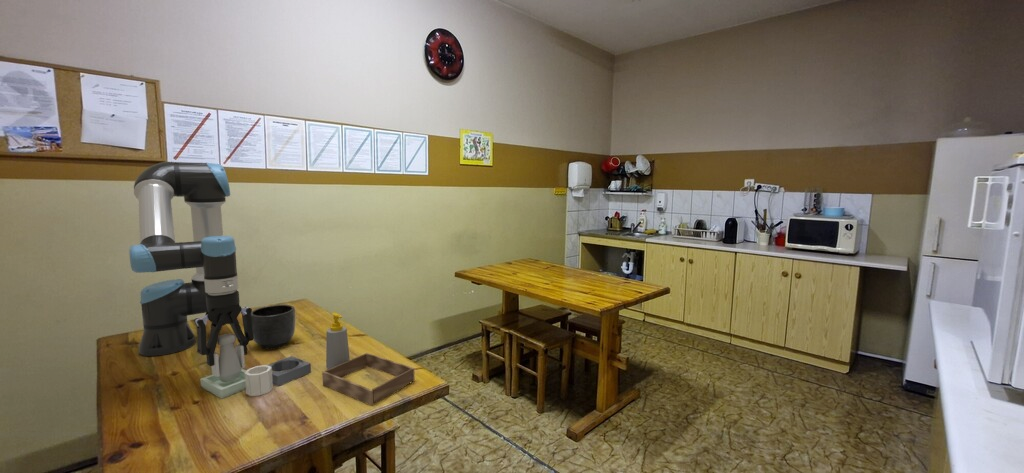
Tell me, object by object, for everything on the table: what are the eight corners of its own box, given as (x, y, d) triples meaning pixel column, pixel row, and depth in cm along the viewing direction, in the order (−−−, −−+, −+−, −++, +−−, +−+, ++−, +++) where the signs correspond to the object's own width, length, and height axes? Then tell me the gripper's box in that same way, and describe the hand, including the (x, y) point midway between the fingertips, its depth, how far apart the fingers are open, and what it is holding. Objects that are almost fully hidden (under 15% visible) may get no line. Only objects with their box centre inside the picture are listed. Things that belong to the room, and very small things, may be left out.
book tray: (322, 385, 116) (322, 371, 115) (367, 364, 129) (367, 352, 128) (371, 405, 105) (371, 391, 105) (414, 381, 118) (414, 368, 118)
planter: (300, 336, 153) (298, 303, 151) (292, 350, 140) (290, 314, 138) (258, 340, 148) (255, 306, 147) (246, 355, 135) (243, 318, 134)
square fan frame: (259, 377, 120) (258, 367, 119) (292, 364, 128) (291, 355, 128) (278, 386, 115) (277, 375, 114) (311, 372, 123) (310, 362, 123)
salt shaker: (229, 384, 111) (225, 339, 110) (212, 382, 112) (208, 337, 111) (246, 375, 117) (243, 332, 115) (230, 373, 118) (226, 330, 116)
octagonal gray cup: (242, 392, 111) (241, 371, 111) (265, 383, 116) (263, 363, 116) (254, 398, 108) (252, 377, 107) (276, 388, 113) (275, 368, 113)
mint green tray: (201, 387, 114) (200, 378, 114) (237, 373, 122) (237, 366, 122) (221, 398, 108) (220, 390, 107) (258, 384, 116) (258, 375, 116)
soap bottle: (332, 376, 121) (329, 319, 119) (322, 369, 126) (319, 313, 123) (354, 368, 126) (352, 313, 124) (344, 362, 131) (341, 309, 128)
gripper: (187, 302, 101) (195, 388, 104) (264, 286, 118) (270, 361, 120) (174, 297, 105) (183, 381, 108) (251, 283, 121) (256, 356, 124)
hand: (228, 370), depth 114 cm, fingers closed on salt shaker, 6 cm apart
